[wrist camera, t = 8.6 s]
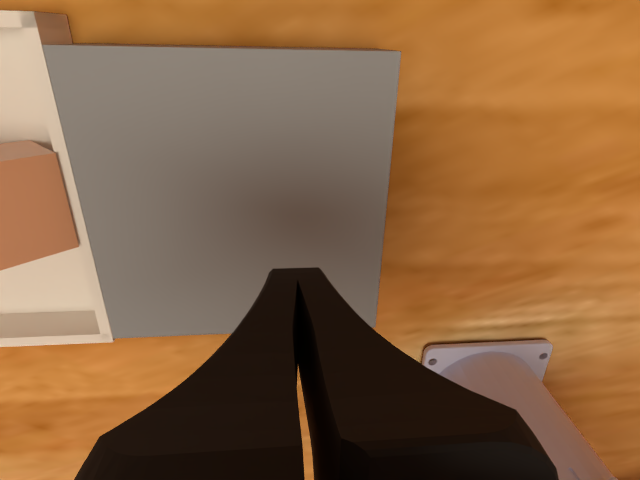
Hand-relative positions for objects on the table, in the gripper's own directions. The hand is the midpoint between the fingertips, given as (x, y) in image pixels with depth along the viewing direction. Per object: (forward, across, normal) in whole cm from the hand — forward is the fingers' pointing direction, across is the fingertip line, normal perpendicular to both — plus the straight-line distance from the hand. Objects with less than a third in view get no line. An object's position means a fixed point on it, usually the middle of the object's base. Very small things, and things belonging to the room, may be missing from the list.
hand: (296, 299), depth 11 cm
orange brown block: (+8, +12, 0) cm, 15 cm away
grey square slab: (+10, +2, 0) cm, 10 cm away
